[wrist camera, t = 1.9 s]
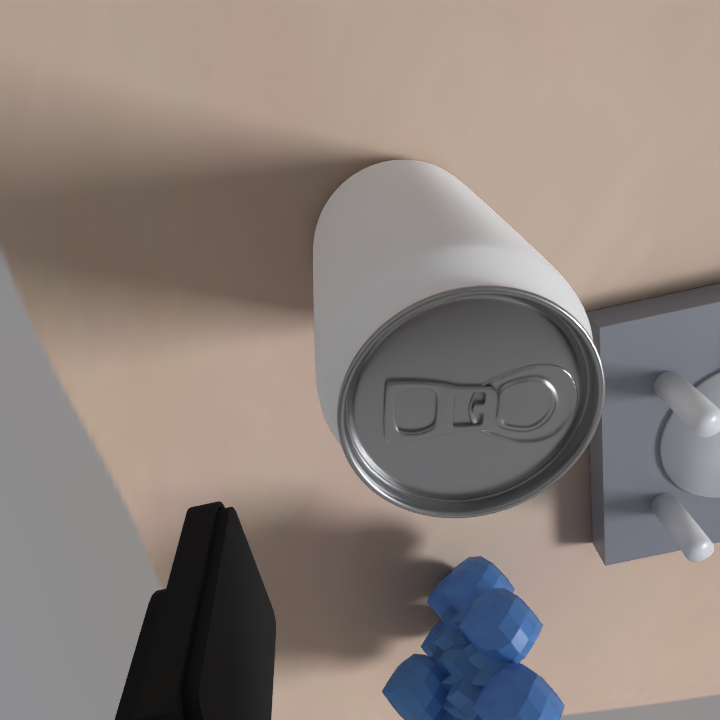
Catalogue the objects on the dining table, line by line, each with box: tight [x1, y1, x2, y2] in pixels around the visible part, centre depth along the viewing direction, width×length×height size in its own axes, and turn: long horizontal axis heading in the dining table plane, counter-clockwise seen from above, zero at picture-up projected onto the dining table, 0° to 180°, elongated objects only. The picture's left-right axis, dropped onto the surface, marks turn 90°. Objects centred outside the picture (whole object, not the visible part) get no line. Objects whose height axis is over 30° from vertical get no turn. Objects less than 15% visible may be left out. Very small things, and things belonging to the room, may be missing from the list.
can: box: [313, 160, 605, 518], centre depth 18 cm, size 6×6×12 cm
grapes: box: [382, 556, 565, 720], centre depth 26 cm, size 12×7×12 cm, turn 176°
